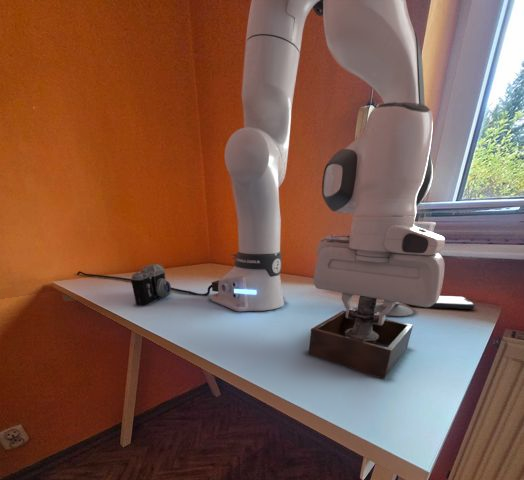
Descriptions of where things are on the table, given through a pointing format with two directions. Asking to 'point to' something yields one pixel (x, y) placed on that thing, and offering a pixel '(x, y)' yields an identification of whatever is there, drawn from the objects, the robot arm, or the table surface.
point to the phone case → (452, 303)
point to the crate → (360, 344)
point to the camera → (150, 285)
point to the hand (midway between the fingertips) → (364, 320)
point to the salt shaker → (364, 321)
